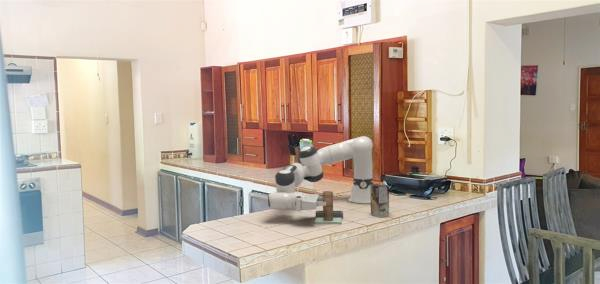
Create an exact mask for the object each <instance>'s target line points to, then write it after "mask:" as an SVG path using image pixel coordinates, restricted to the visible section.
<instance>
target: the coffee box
mask: <svg viewBox="0 0 600 284" xmlns="http://www.w3.org/2000/svg"><path fill="white" fill-rule="evenodd" d="M389 187H390V186H389V185H388V184H383V183H373V184H370V191H371V203H370V215H371V216H374V217H378V218H385V217H390V188H389Z"/></svg>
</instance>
